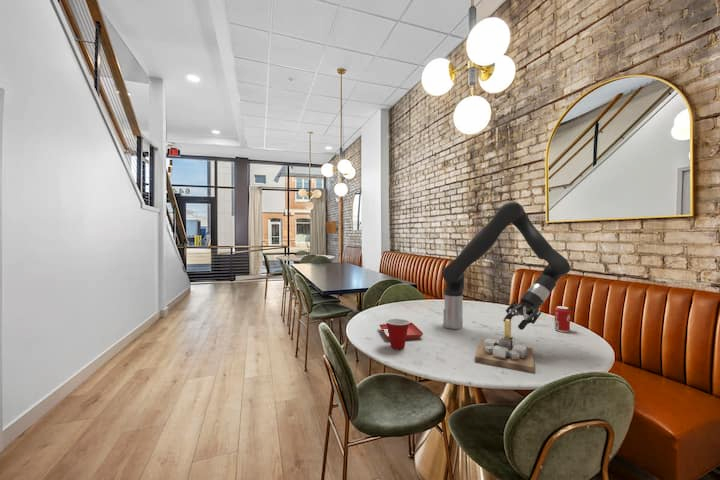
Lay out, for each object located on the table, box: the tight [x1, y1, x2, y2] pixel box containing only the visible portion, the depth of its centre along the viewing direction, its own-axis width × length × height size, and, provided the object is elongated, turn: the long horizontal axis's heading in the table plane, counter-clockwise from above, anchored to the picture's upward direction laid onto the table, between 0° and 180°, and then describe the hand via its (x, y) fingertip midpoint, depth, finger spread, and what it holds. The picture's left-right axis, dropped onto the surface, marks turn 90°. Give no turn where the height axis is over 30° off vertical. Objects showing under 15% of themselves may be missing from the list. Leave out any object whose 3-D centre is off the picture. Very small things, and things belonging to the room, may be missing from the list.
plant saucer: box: [378, 321, 424, 341], centre depth 148 cm, size 18×18×3 cm
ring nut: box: [483, 334, 528, 359], centre depth 120 cm, size 15×15×4 cm
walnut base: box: [474, 338, 535, 374], centre depth 121 cm, size 20×20×6 cm
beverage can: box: [554, 305, 571, 333], centre depth 151 cm, size 6×6×12 cm
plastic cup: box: [385, 318, 411, 350], centre depth 132 cm, size 11×11×12 cm
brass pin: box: [504, 319, 512, 340], centre depth 124 cm, size 2×2×12 cm
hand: (512, 325), depth 125 cm, fingers open, 8 cm apart
